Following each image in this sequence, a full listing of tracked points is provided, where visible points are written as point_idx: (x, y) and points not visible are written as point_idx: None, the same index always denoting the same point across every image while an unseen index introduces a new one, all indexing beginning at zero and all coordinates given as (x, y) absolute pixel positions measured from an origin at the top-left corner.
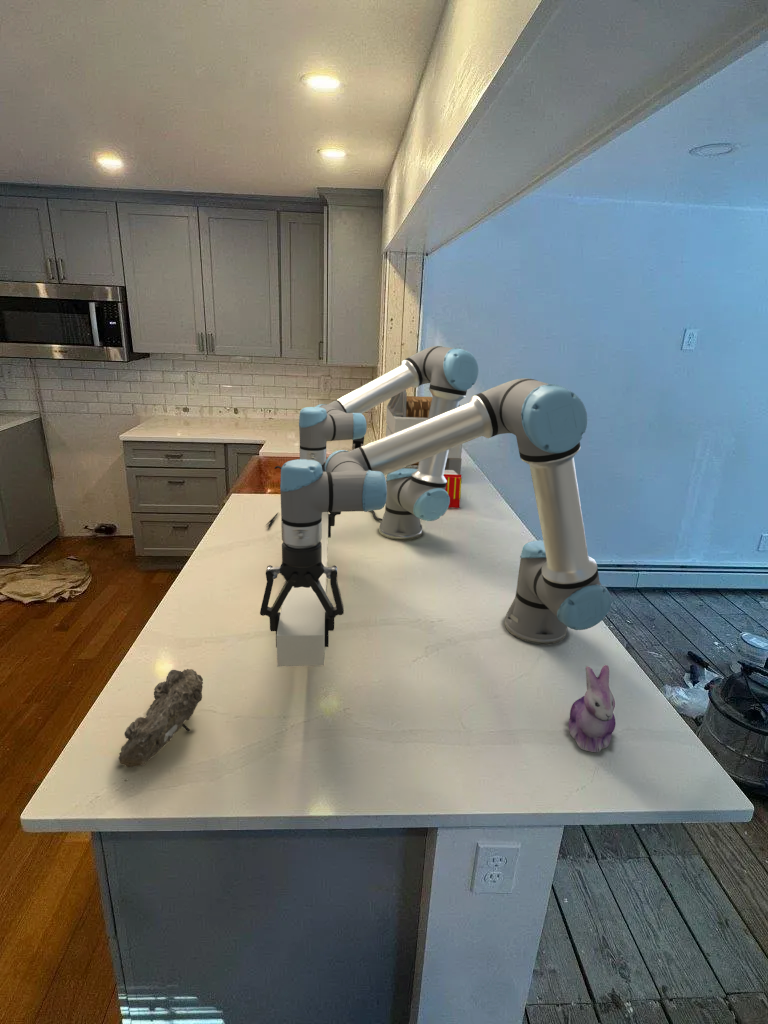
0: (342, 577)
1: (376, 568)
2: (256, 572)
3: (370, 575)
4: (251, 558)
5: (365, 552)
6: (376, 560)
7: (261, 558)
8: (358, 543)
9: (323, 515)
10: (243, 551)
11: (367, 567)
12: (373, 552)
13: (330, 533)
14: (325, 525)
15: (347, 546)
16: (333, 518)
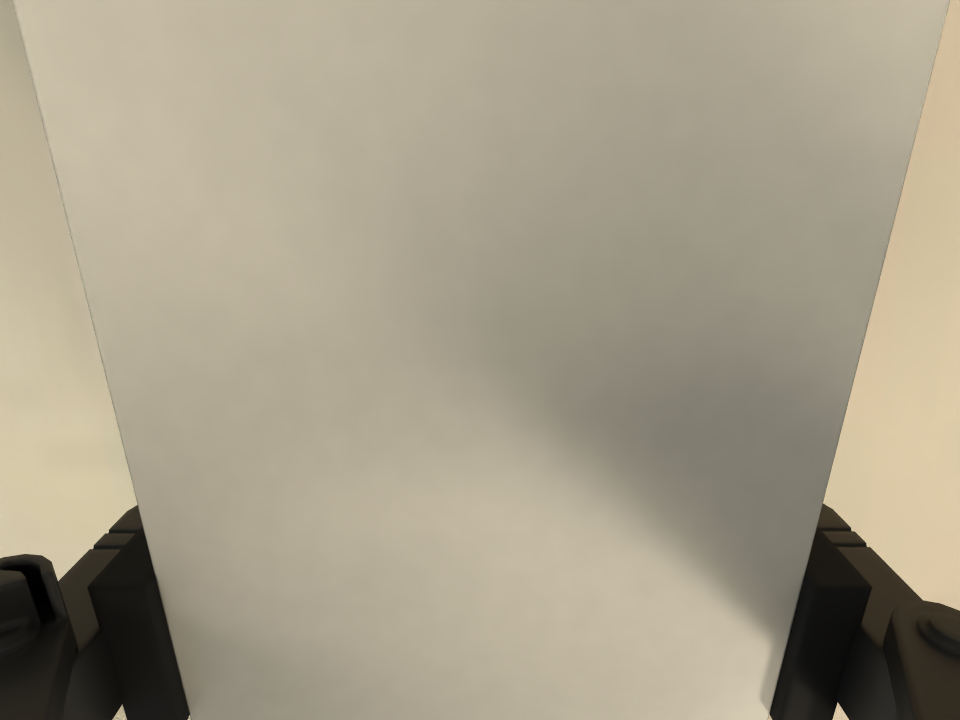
0: None
1: (10, 290)
2: (902, 216)
3: (29, 166)
4: (907, 440)
5: None
6: (38, 418)
7: (839, 441)
8: None
9: (276, 680)
10: (945, 538)
11: (80, 307)
12: (85, 533)
13: None
14: (102, 75)
15: None
16: (75, 589)
